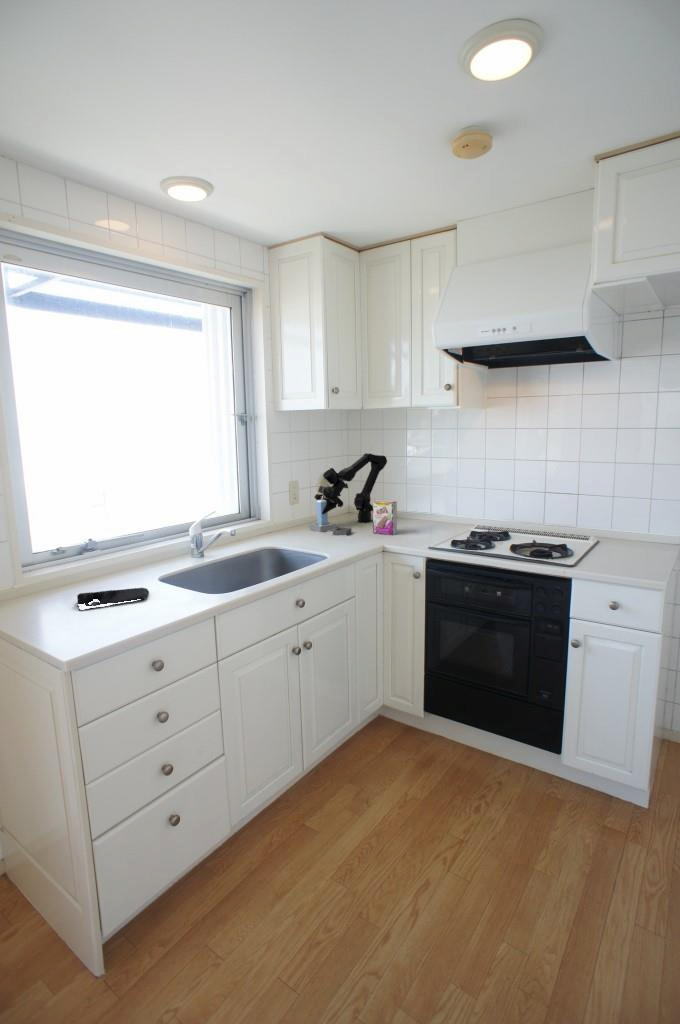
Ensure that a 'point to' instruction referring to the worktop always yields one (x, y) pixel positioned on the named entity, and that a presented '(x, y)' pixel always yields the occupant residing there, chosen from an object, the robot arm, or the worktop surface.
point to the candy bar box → (385, 517)
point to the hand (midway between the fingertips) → (320, 513)
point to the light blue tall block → (321, 518)
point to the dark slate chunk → (112, 596)
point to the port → (322, 527)
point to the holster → (341, 531)
